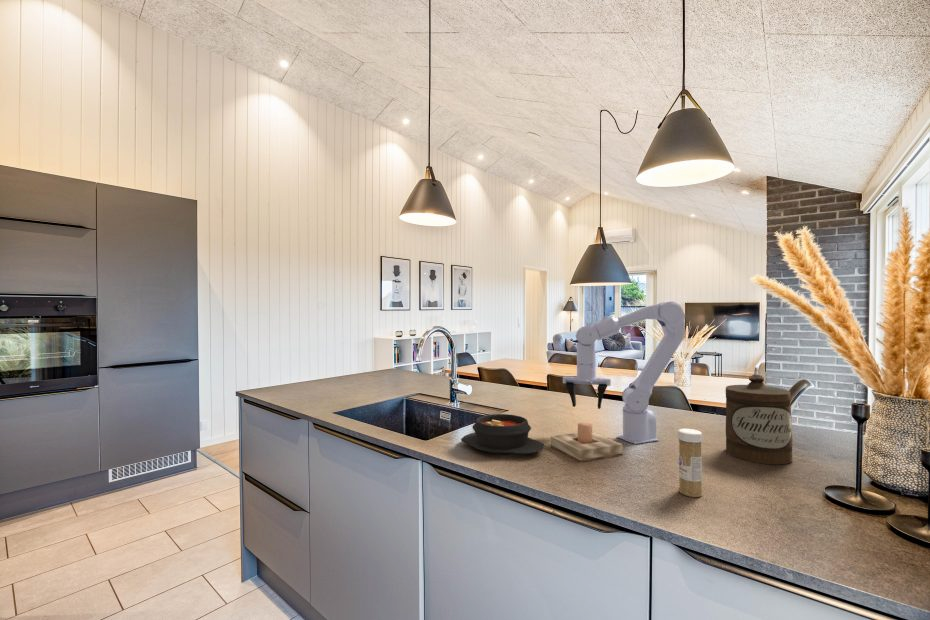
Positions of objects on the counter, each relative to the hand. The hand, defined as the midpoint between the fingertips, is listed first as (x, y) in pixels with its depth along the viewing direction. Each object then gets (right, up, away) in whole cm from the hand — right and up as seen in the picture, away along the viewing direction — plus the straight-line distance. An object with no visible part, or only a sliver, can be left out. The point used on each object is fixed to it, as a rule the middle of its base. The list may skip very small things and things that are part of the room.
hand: (586, 407), depth 132 cm
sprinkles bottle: (+10, -9, -42) cm, 44 cm away
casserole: (-28, -10, -11) cm, 32 cm away
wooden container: (+41, -9, -18) cm, 46 cm away
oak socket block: (-4, -9, -14) cm, 17 cm away
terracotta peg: (-4, -9, -14) cm, 17 cm away
